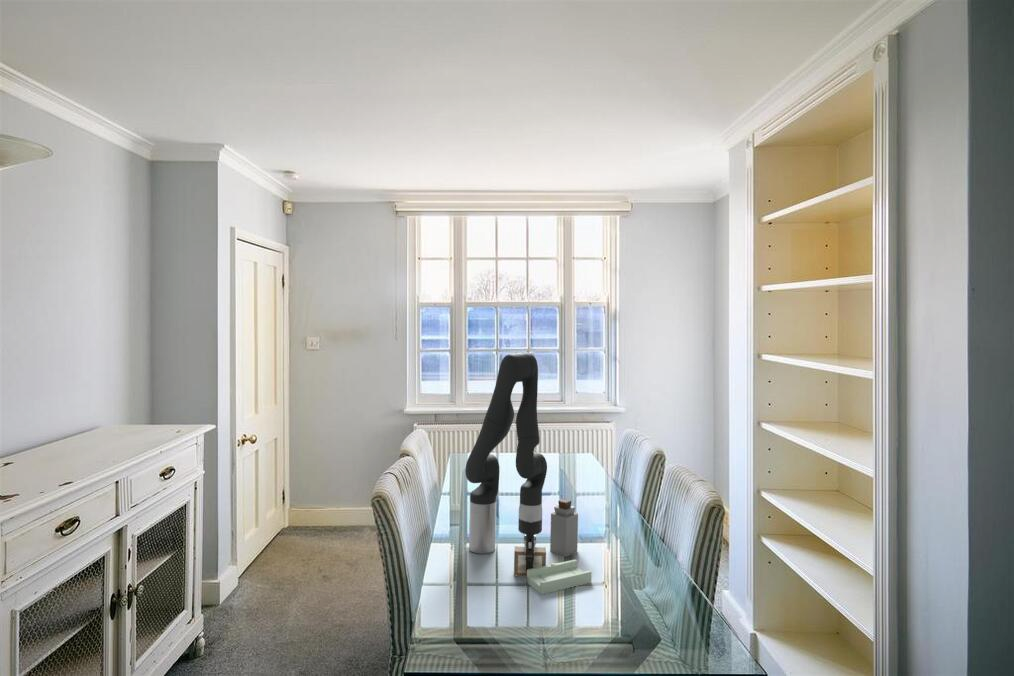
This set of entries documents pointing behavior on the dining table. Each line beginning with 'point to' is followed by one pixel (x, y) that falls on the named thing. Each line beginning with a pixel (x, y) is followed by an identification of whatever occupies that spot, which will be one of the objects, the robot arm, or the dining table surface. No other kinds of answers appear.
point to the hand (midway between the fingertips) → (529, 566)
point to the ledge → (557, 577)
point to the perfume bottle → (564, 529)
